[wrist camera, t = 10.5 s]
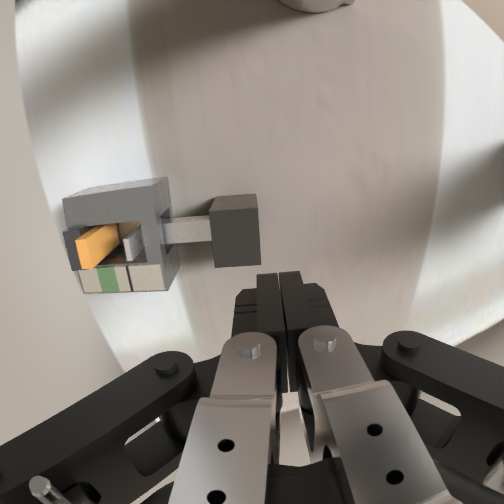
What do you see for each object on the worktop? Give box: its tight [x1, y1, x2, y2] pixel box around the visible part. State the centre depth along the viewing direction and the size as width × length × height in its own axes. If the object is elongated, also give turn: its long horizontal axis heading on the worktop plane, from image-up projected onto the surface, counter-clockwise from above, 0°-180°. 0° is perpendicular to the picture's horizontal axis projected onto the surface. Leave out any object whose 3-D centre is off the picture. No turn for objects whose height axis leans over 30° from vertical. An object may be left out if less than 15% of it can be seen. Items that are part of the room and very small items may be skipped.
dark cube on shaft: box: [123, 194, 261, 268], centre depth 29 cm, size 12×5×8 cm, turn 94°
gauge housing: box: [62, 177, 180, 293], centre depth 30 cm, size 10×10×7 cm
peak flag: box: [75, 223, 120, 269], centre depth 29 cm, size 1×3×7 cm, turn 4°
